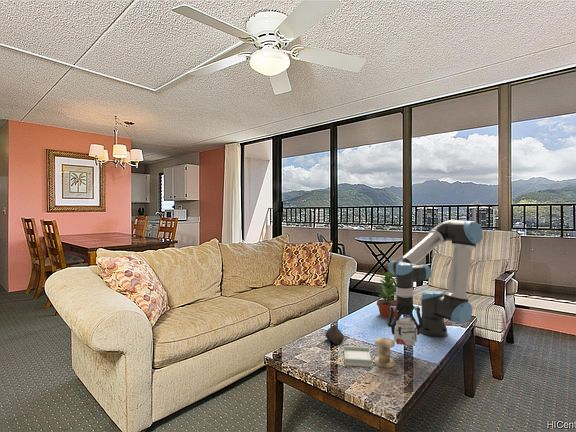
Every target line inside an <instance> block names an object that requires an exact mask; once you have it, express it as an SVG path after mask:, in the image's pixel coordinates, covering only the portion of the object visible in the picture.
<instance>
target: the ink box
mask: <svg viewBox="0 0 576 432" xmlns="http://www.w3.org/2000/svg"><path fill="white" fill-rule="evenodd" d="M395 327H396V341H397V342H395V344H396V345H402V346H413V347H415V346H416V342H415V327H416V326H415V322H414V321H413V320H412V318H411V317H402V316H401V317H400V318H399V320H398V321H396V326H395Z"/></svg>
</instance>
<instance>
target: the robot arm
mask: <svg viewBox="0 0 576 432" xmlns="http://www.w3.org/2000/svg"><path fill="white" fill-rule="evenodd" d="M483 234H484V233H483V229H482V227H481V225H480V223H478V222H476V221H472V220H453V219H449V220H445V221H443V222H440V223H438V224H437V225H436V226H433V227H432V228H431V229H430V230H429V231H428V233H427V235H426V236H425V237H423V238H422V239H421V240H420V241H419V242H418V243H417V244H415V245H414V246H413V247H411V249H410V250H409V251H407V252H406V253H405V254H404V255H402V256H401V257H400V258H399V259H398V260H396V259H395V260H394V259H393V260H390V261H389V263H388V266H387V268H388V269H387V270H388V271H389V272H390V274H391V275H392V274H394V275H393V276H395V280H396V281H395V282H396V284H395V286H396V288H395V290H396V292H395V293H396V295H395V298H396V301H397V304H396V306H390V315H389V318H387V319H388V320H387V327H388V328H390V329H391V334H392V335H393V341H394V342H395V343H396V342H397V341H396V321H398V320H399V318H400V317H402V316H405V315H406V316H410V318H412V320H413V321H414V322H415V343H418V336H419V335H420V333H421V334H422V335H425V336H428V337H436V338H437V337H438V338H443V337H445V336H447V335H448V328H447V325H446V322H445V320H448V321H451V322H452V323H457V324H465V323H467V322H468V321H469V320H470V319H471V318H472V315H473V310H474V309H473V305H472V304H471V303H470V302H469V297H468V295H467V291H468V289H467V288H468V283H469V282H468V281H469V274H470V267H471V260H472V252H473V250H474V249H475V248H476V247H477V244H480V243H481V241H482V240H483ZM450 241H451V245H452V247H453V251H452V260H451V267H450V272H449V273H450V274H449V281H448V290H447V291H446V292H443V291H439V290H427V291H424V292H422V293H421V299H420V300H421V303H420V304H421V308H420V306H419V305H415V306H414V296H413V295H414V289H413V288H414V287H413V286H414V283H413V282H420V281H425V280H429V279H431V277H432V273H433V271H432V269H431V267H430V266H429V265H428V264H425V263H424V264H418V263H419V262H420V261H422V259H424V258H425V257H426V256H427V255H428V254H429V253H430V252H431V251H433V250H434V249H436V247H437V246H439V245H442V244H444V243H445V242H450ZM395 309H397V310H398V312H397V315H396V317H395V318H393V314H394V311H395ZM413 311H414V312H416V316H417V320H416V318H415V316H414V314H413V313H412V312H413ZM417 321H418V322H417Z"/></svg>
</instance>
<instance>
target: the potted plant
mask: <svg viewBox="0 0 576 432" xmlns="http://www.w3.org/2000/svg"><path fill="white" fill-rule="evenodd" d="M381 273H382V274H383V276H384V277H382V276H380V278H381V279H379V283H380V285H381V286H380V287H382V292H383V293H380V294H378V296H379V297H380V298H381V299H378V300H377V301H376V305H377V308H378V311H379V315H380V317H383V318H384V319H385V318H386V319H389V315H390V306H396V304H397V299H395V298H396V296H397V294H396V283H395V282H396V279H394V276H395V275H394V274H392V273H390V272H389V270H388V271H387V272H384V270H381ZM393 296H394V297H393ZM397 312H398V310H397V309H395V311H394V314H393V318H392V319H395V317H396V315H397Z"/></svg>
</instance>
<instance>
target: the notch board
mask: <svg viewBox="0 0 576 432" xmlns="http://www.w3.org/2000/svg"><path fill="white" fill-rule="evenodd" d="M343 355H344V365H345V366H351V367H352V366H353V367H366V368H367V367H368V368H373V359H372V358H371V354H370V347H369V346H355V345H353V346H352V345H344V346H343Z"/></svg>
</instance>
